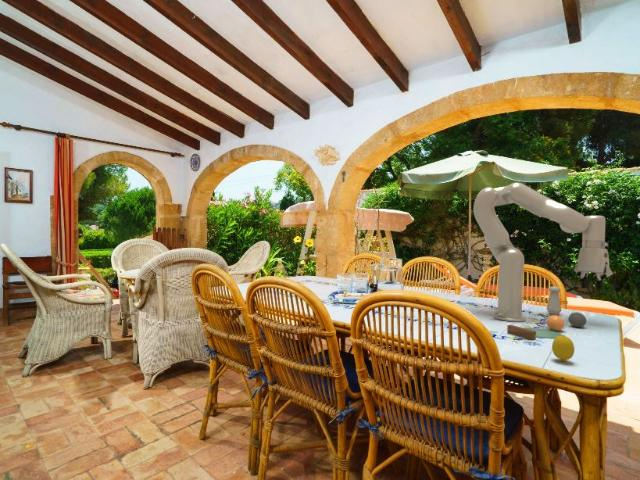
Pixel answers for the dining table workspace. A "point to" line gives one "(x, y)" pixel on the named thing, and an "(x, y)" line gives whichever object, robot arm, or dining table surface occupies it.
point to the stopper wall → (521, 332)
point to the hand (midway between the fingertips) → (591, 288)
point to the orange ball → (555, 323)
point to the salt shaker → (554, 301)
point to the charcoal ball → (577, 319)
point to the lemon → (563, 348)
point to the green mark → (545, 333)
